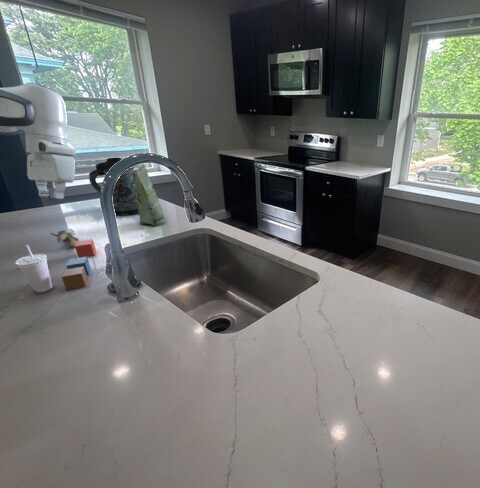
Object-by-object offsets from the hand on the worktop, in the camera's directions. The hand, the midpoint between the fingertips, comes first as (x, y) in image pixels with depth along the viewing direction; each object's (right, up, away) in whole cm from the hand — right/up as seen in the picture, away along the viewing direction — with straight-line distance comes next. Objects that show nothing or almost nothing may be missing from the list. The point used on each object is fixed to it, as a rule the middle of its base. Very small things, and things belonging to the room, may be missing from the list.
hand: (51, 197), depth 86 cm
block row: (0, -21, +11) cm, 24 cm away
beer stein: (-17, +2, +59) cm, 62 cm away
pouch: (+2, -4, +47) cm, 48 cm away
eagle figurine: (-16, -14, +25) cm, 33 cm away
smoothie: (-2, -26, 0) cm, 27 cm away
